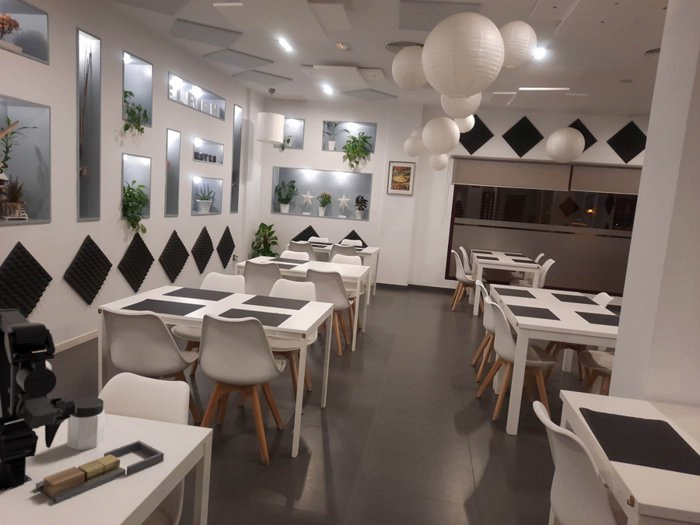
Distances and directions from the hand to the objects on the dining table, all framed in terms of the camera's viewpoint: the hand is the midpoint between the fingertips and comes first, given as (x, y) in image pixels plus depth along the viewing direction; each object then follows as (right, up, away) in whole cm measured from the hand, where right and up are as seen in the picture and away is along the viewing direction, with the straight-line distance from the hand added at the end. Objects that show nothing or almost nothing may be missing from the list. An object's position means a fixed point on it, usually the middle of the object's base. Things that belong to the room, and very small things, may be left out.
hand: (25, 454), depth 108 cm
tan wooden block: (+9, -11, +17) cm, 22 cm away
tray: (+13, -11, +23) cm, 29 cm away
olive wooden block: (+7, -11, +14) cm, 19 cm away
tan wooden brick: (+4, -11, +8) cm, 14 cm away
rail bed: (+6, -12, +12) cm, 17 cm away
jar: (-3, -9, +31) cm, 32 cm away
